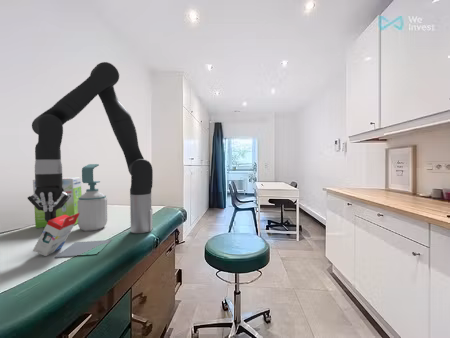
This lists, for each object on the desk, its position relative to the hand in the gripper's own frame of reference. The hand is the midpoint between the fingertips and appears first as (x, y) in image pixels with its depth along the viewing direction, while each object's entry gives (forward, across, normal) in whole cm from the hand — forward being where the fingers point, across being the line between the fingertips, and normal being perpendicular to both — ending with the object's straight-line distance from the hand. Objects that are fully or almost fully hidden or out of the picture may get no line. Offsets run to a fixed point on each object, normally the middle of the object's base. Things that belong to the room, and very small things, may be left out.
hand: (50, 221), depth 78 cm
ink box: (+10, +1, 0) cm, 10 cm away
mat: (+11, -11, -1) cm, 15 cm away
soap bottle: (+11, -2, -29) cm, 31 cm away
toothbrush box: (+11, +18, -40) cm, 45 cm away
